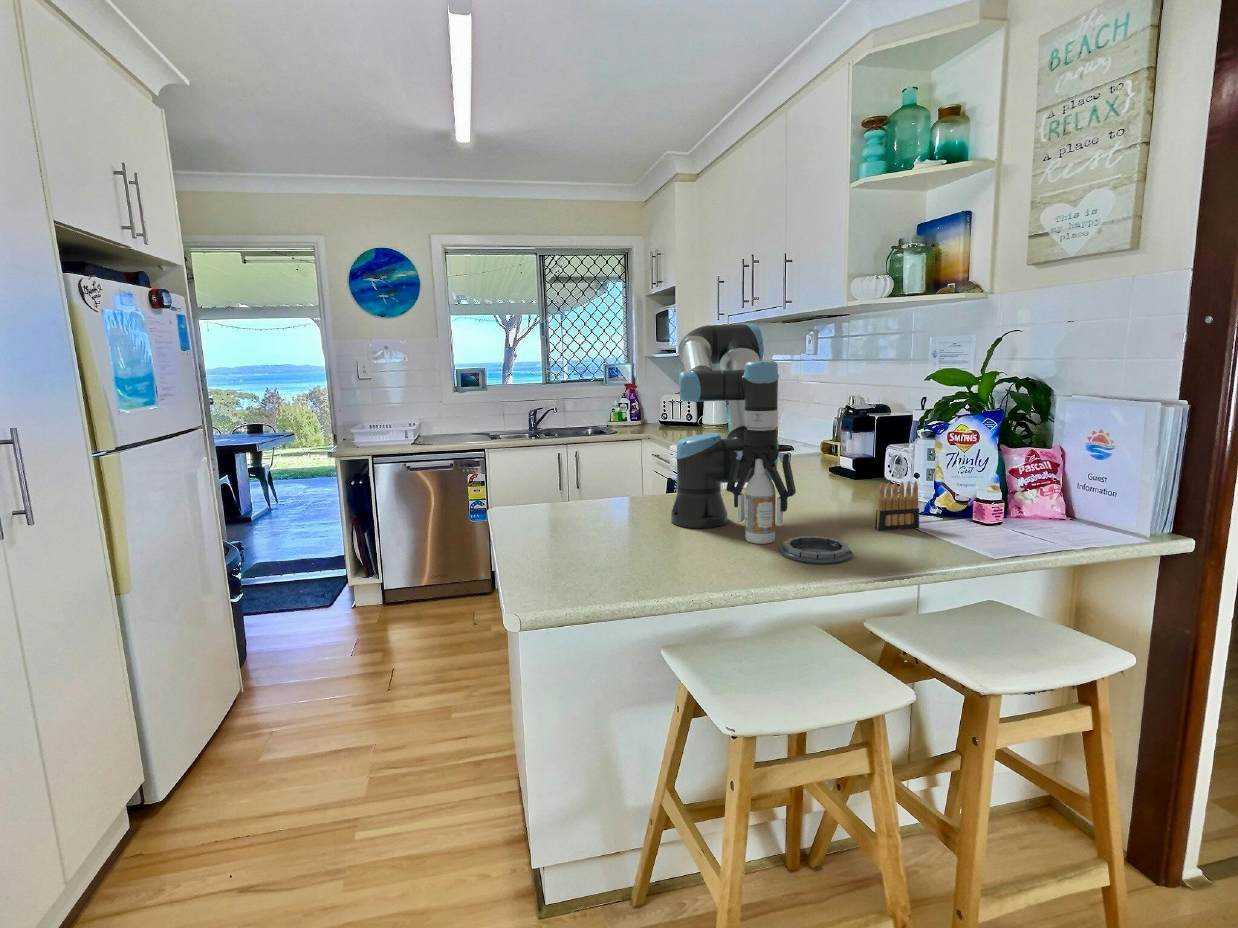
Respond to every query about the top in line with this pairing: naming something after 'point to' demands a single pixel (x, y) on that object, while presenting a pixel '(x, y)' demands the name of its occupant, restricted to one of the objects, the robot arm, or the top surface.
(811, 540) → the ring tray
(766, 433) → the robot arm
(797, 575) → the top surface
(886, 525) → the ammunition clip
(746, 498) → the bath foam
